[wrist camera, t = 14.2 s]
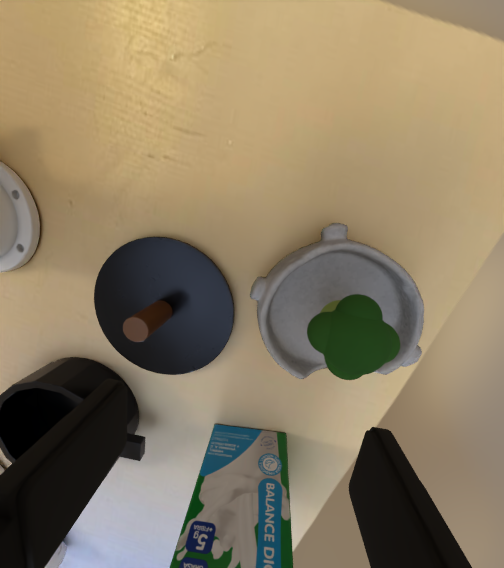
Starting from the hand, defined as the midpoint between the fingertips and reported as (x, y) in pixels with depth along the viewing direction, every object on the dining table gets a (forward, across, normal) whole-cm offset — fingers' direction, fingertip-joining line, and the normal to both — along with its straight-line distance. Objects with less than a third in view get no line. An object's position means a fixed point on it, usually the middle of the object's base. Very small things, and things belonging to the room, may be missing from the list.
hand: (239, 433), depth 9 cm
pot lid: (+16, +10, +3) cm, 20 cm away
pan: (+17, +21, +18) cm, 32 cm away
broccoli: (+12, -7, -1) cm, 13 cm away
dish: (+17, -7, -1) cm, 18 cm away
